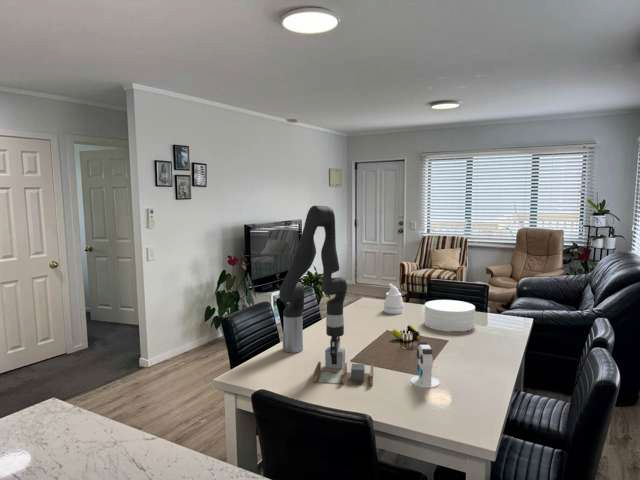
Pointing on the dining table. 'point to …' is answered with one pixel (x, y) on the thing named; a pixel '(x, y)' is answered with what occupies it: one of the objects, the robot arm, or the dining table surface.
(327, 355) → the medicine box
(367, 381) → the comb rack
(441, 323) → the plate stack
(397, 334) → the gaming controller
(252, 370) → the dining table surface
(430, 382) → the panda figurine
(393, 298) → the honey pot
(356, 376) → the cord plug
